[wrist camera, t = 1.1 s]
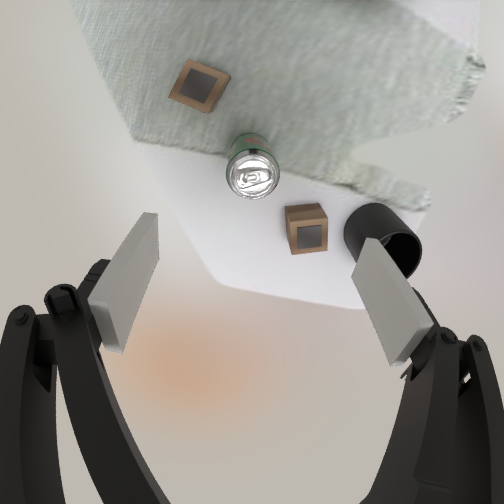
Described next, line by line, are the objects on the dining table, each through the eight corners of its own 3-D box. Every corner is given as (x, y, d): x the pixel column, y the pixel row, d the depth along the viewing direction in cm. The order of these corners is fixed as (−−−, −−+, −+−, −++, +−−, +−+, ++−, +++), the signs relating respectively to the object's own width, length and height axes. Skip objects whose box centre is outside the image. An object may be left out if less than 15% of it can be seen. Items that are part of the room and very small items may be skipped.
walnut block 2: (284, 206, 39) (290, 222, 35) (318, 202, 39) (328, 218, 35) (286, 236, 42) (291, 255, 37) (319, 233, 42) (327, 251, 37)
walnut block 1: (195, 63, 28) (187, 58, 24) (230, 78, 29) (228, 75, 25) (178, 96, 30) (167, 97, 26) (212, 111, 32) (207, 114, 27)
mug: (347, 272, 46) (364, 308, 38) (339, 210, 39) (361, 241, 32) (395, 258, 44) (418, 290, 37) (394, 196, 38) (424, 223, 31)
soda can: (227, 136, 33) (220, 156, 23) (266, 129, 33) (277, 146, 23) (235, 172, 36) (231, 207, 26) (272, 166, 36) (284, 198, 26)
